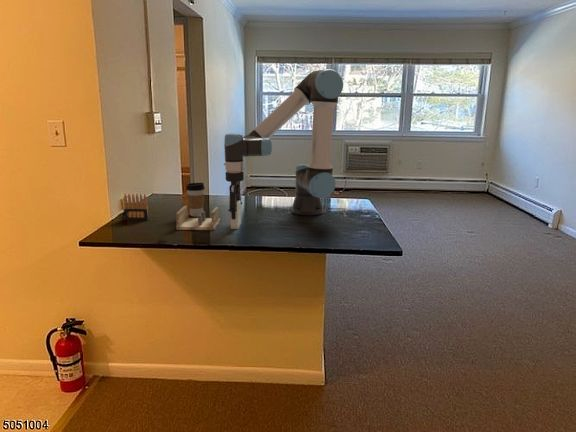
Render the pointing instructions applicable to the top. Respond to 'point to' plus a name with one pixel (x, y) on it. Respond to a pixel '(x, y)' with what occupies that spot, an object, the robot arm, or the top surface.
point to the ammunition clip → (136, 208)
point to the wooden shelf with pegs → (196, 220)
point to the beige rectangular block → (238, 215)
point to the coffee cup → (195, 198)
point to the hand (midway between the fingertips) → (236, 222)
